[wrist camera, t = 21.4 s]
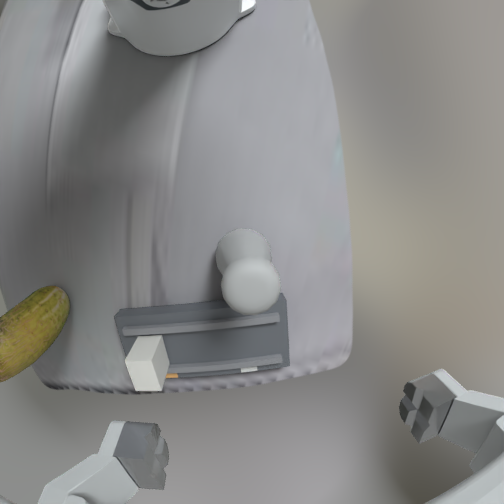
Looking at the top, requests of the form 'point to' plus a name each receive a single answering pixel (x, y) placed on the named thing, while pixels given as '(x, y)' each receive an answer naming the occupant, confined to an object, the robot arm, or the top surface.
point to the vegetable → (31, 329)
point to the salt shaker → (247, 272)
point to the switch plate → (211, 337)
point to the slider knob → (148, 363)
